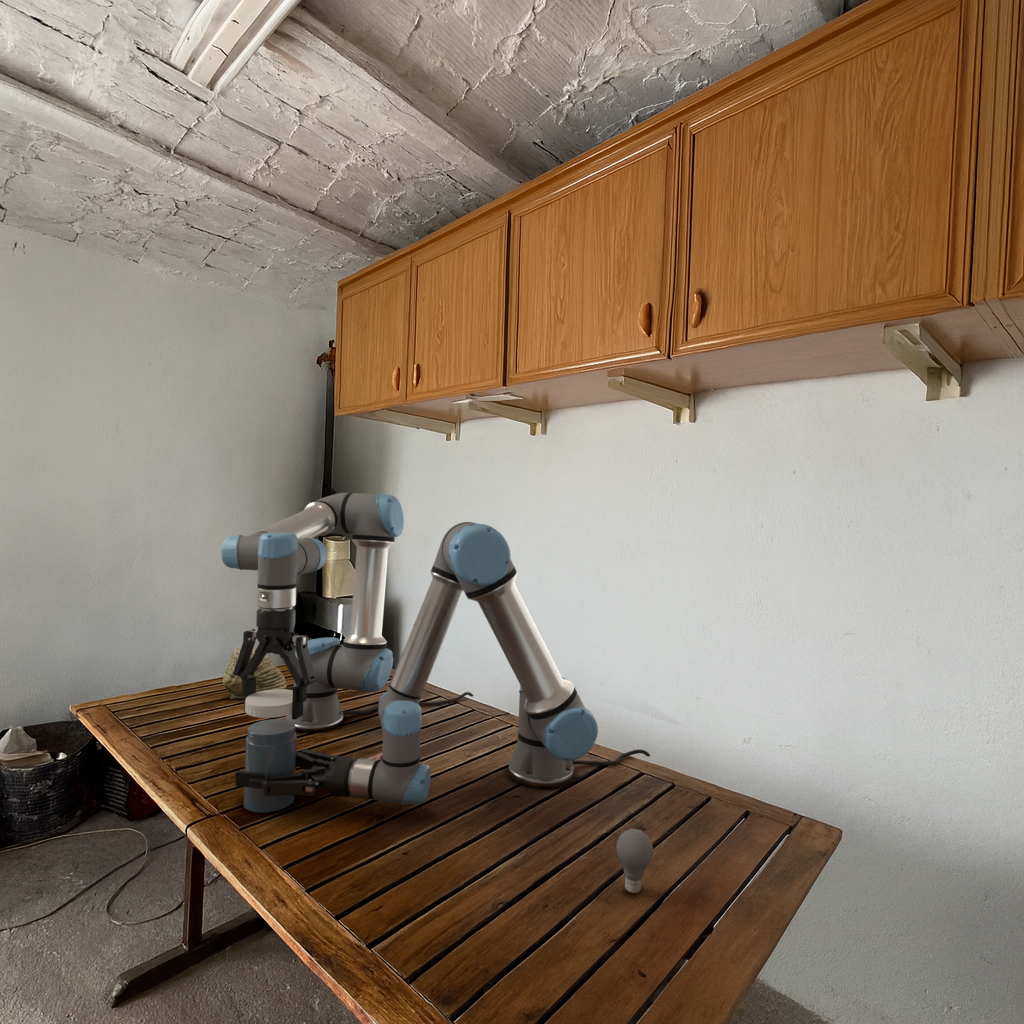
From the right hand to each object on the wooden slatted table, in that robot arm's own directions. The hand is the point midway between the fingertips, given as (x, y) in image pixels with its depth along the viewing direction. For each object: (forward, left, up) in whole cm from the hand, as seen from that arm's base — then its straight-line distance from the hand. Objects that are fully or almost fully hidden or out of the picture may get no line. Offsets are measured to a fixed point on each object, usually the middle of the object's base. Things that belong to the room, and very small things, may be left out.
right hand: (250, 767), depth 131 cm
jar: (-4, +2, -7) cm, 8 cm away
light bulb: (-63, +48, -7) cm, 79 cm away
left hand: (-4, +2, +12) cm, 12 cm away
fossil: (+4, -71, -7) cm, 72 cm away
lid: (-4, +2, +15) cm, 15 cm away
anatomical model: (-26, -8, -7) cm, 28 cm away
